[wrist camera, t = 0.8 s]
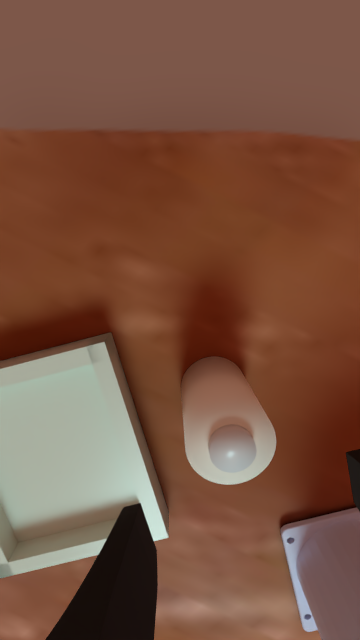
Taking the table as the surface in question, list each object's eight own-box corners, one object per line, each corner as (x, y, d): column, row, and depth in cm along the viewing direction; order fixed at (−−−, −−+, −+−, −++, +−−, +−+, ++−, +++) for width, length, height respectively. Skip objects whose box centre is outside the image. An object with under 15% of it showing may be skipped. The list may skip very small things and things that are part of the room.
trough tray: (168, 511, 22) (168, 537, 20) (13, 549, 22) (-2, 578, 20) (111, 332, 19) (104, 341, 17) (-67, 378, 19) (-93, 393, 17)
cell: (251, 407, 20) (287, 480, 14) (189, 423, 20) (198, 502, 14) (237, 349, 20) (270, 398, 13) (173, 365, 20) (175, 422, 13)
